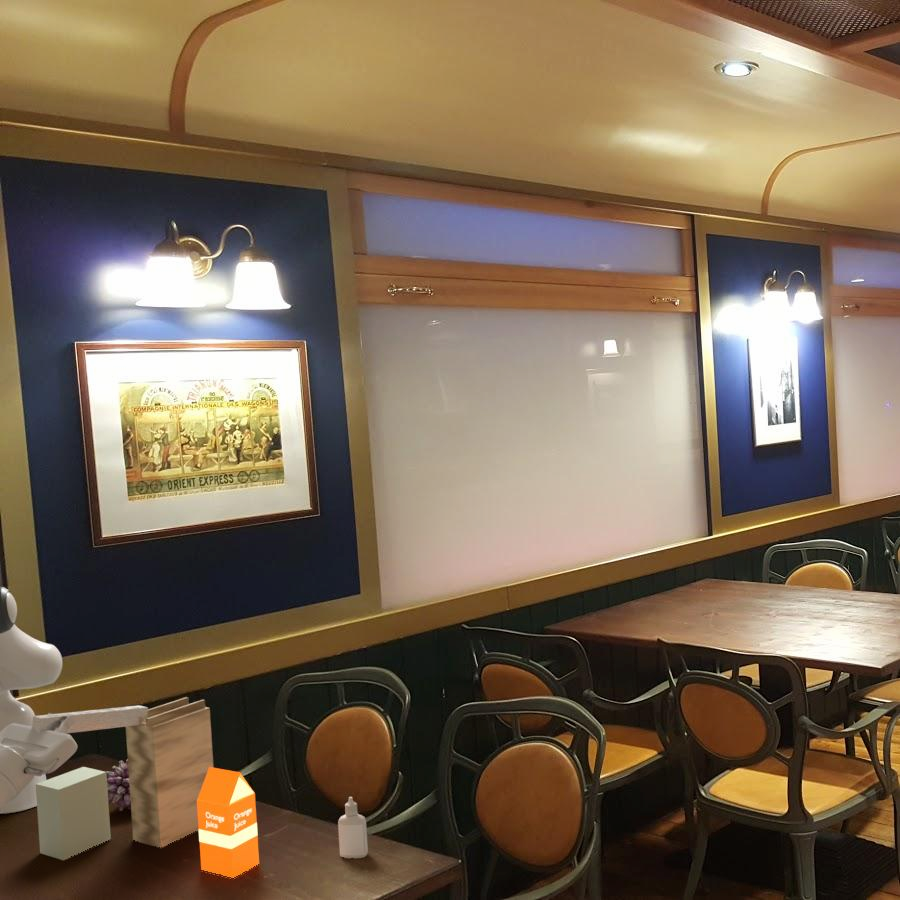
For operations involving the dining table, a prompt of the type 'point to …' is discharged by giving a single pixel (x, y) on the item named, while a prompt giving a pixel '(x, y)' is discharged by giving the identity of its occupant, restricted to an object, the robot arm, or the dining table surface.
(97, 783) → the sage block
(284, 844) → the dining table surface
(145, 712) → the steel bar
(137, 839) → the oak stand
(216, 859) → the orange juice
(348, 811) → the eye dropper bottle
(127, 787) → the flower
